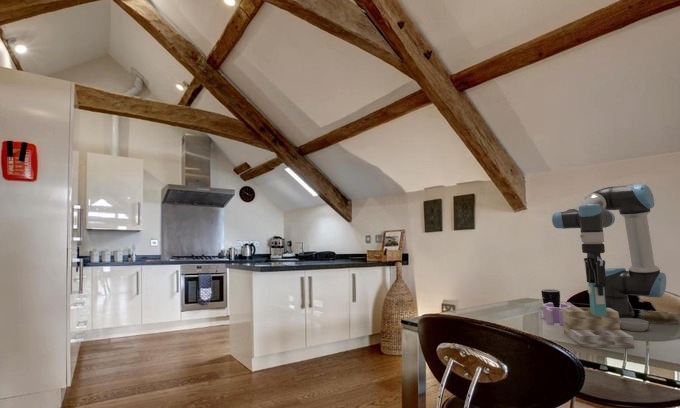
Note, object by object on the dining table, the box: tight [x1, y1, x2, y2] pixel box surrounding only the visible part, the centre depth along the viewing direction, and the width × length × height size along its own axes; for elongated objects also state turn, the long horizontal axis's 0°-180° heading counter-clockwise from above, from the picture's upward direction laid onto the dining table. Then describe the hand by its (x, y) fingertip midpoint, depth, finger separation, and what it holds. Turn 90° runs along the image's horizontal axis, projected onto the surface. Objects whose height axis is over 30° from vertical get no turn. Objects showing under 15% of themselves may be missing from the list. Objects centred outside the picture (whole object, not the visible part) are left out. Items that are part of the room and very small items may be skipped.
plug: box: [587, 282, 607, 316], centre depth 147 cm, size 5×4×12 cm
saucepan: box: [619, 317, 649, 332], centre depth 164 cm, size 11×18×4 cm, turn 92°
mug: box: [541, 288, 561, 308], centre depth 206 cm, size 12×9×10 cm
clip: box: [541, 302, 572, 327], centre depth 183 cm, size 20×12×7 cm, turn 148°
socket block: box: [562, 307, 635, 349], centre depth 151 cm, size 18×18×11 cm
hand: (597, 302), depth 147 cm, fingers closed on plug, 4 cm apart
